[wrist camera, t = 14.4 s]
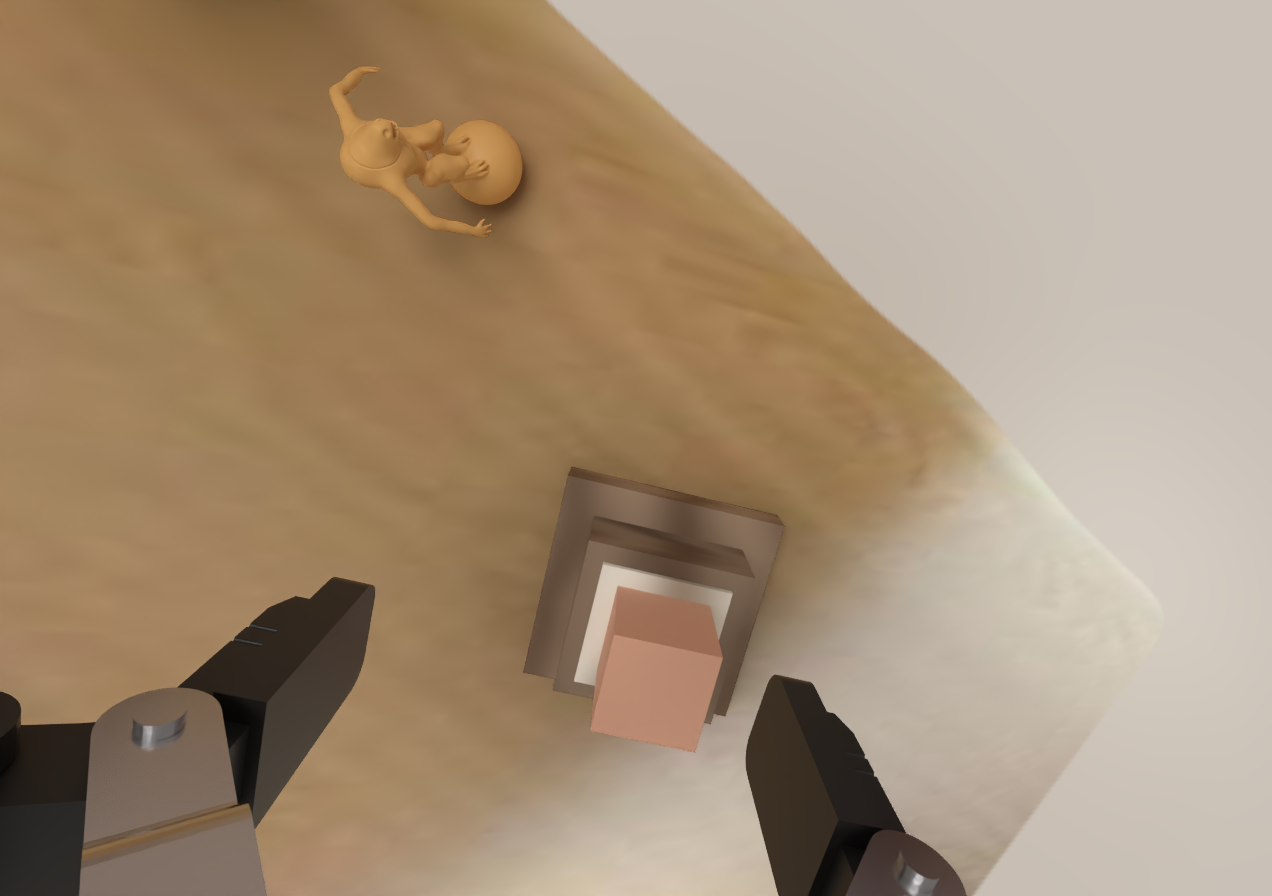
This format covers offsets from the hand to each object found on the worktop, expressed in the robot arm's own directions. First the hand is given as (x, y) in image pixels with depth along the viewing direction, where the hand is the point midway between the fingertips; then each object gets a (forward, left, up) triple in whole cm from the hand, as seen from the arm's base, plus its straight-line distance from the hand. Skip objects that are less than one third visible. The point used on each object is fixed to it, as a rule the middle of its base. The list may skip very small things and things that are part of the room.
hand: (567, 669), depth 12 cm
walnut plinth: (+5, -9, -25) cm, 27 cm away
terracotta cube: (+5, -9, -19) cm, 21 cm away
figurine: (-10, +12, -25) cm, 30 cm away
